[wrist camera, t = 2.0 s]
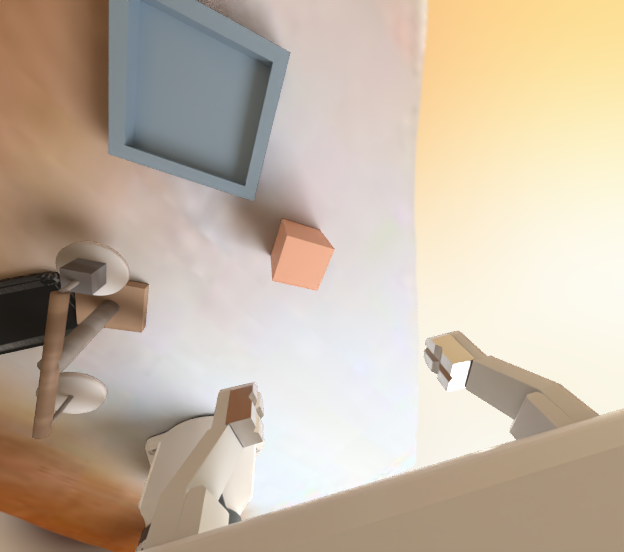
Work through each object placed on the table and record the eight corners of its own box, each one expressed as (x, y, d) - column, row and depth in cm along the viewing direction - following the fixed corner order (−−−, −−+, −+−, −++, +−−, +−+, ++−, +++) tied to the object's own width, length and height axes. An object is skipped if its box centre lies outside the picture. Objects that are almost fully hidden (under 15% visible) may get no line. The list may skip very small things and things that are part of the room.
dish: (254, 196, 23) (253, 201, 21) (125, 154, 20) (108, 154, 18) (287, 64, 19) (290, 52, 17) (130, -20, 16) (108, -48, 13)
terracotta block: (307, 265, 28) (317, 290, 23) (270, 255, 26) (272, 280, 21) (320, 230, 26) (334, 249, 21) (282, 218, 25) (287, 235, 20)
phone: (100, 332, 26) (-50, 365, 25) (106, 326, 27) (-38, 357, 26) (53, 271, 22) (-128, 306, 21) (62, 266, 23) (-110, 299, 22)
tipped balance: (142, 358, 30) (85, 457, 20) (85, 353, 28) (-9, 458, 18) (152, 239, 23) (75, 299, 14) (78, 221, 21) (-72, 277, 12)
